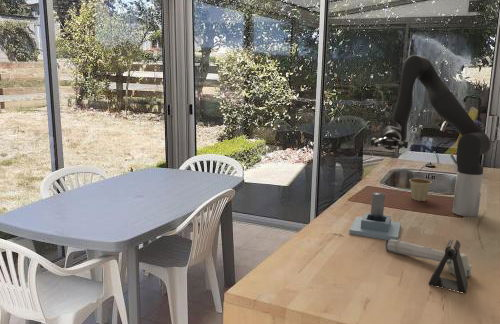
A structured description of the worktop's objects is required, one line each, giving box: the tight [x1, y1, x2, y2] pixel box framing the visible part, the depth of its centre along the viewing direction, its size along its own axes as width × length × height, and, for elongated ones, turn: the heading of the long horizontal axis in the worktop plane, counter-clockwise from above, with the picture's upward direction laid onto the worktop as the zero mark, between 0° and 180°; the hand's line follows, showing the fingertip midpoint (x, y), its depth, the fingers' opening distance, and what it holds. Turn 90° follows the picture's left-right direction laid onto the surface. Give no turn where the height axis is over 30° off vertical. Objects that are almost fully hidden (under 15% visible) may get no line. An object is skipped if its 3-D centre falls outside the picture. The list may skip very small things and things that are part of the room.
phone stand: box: [428, 238, 469, 294], centre depth 113 cm, size 9×6×12 cm, turn 58°
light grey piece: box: [384, 238, 473, 278], centre depth 128 cm, size 5×7×25 cm
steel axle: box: [370, 191, 386, 222], centre depth 152 cm, size 4×4×12 cm
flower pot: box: [409, 178, 433, 202], centre depth 192 cm, size 9×9×9 cm
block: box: [348, 212, 402, 241], centre depth 153 cm, size 16×16×4 cm
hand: (387, 145), depth 166 cm, fingers open, 8 cm apart
